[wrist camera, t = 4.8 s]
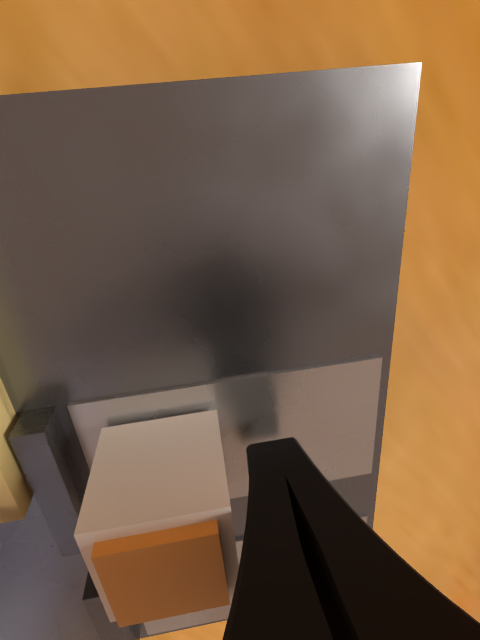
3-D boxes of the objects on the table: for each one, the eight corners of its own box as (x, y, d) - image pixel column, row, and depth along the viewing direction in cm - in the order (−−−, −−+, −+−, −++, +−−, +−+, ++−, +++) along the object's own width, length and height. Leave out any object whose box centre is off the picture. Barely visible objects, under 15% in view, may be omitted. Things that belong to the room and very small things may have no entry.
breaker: (227, 488, 12) (244, 609, 9) (126, 506, 11) (108, 637, 8) (216, 409, 10) (233, 520, 7) (101, 427, 10) (69, 551, 7)
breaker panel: (350, 552, 17) (377, 618, 15) (-179, 659, 15) (-244, 754, 13) (383, 73, 9) (454, 51, 7) (-730, 163, 7) (-1173, 177, 5)
